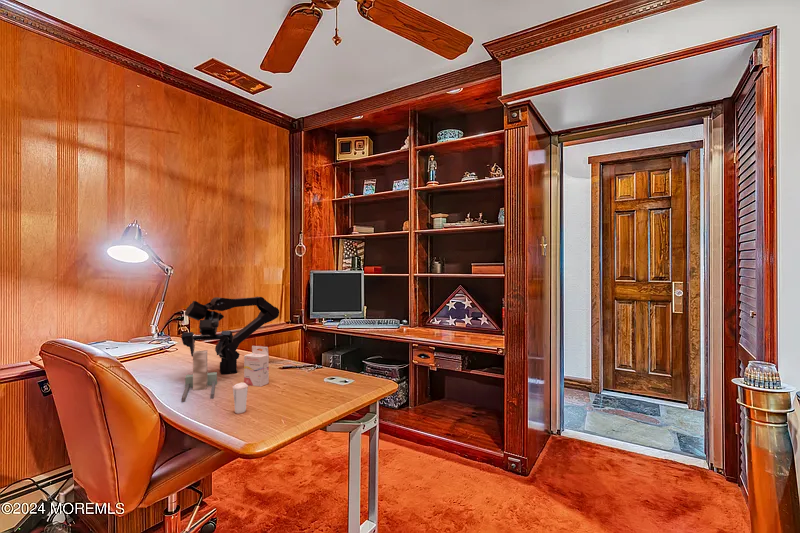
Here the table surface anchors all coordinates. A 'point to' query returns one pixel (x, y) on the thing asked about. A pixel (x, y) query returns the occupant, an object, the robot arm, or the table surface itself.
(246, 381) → the ink cartridge box
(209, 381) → the guide track
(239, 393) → the milkshake
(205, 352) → the post
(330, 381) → the table surface
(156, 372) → the table surface
